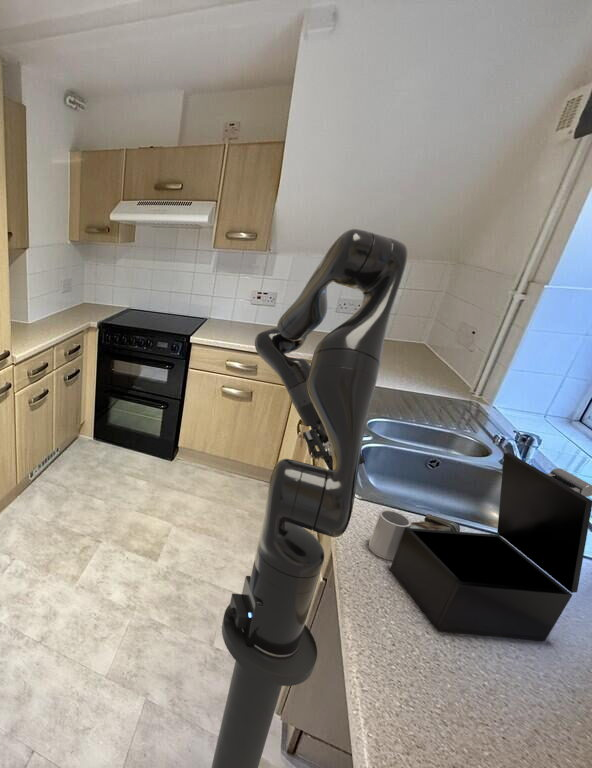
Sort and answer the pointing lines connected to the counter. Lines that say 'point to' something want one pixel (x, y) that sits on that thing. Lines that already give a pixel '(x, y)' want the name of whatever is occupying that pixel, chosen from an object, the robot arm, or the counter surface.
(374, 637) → the counter surface
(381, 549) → the cup
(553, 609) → the black hollow box
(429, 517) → the checkered cake slice
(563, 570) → the black box lid
